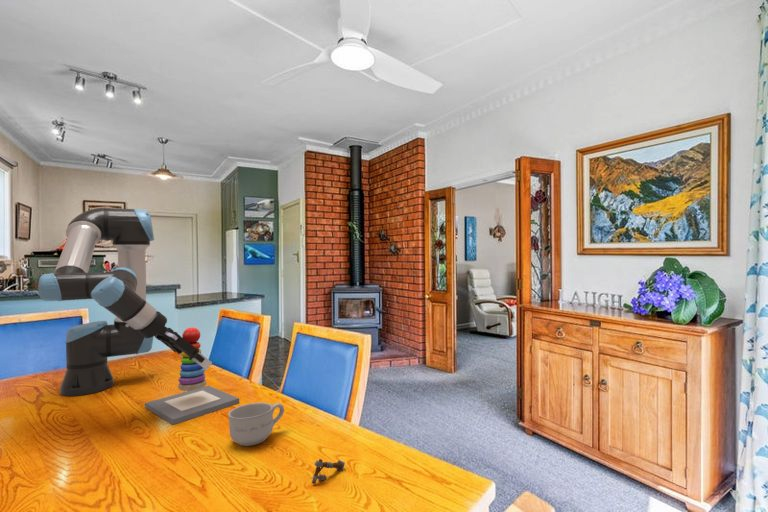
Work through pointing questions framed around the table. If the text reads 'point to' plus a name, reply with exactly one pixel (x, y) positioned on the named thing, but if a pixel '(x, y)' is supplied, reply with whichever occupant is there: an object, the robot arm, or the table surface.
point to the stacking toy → (191, 365)
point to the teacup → (253, 422)
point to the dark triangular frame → (337, 465)
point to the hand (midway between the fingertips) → (203, 364)
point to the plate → (191, 404)
